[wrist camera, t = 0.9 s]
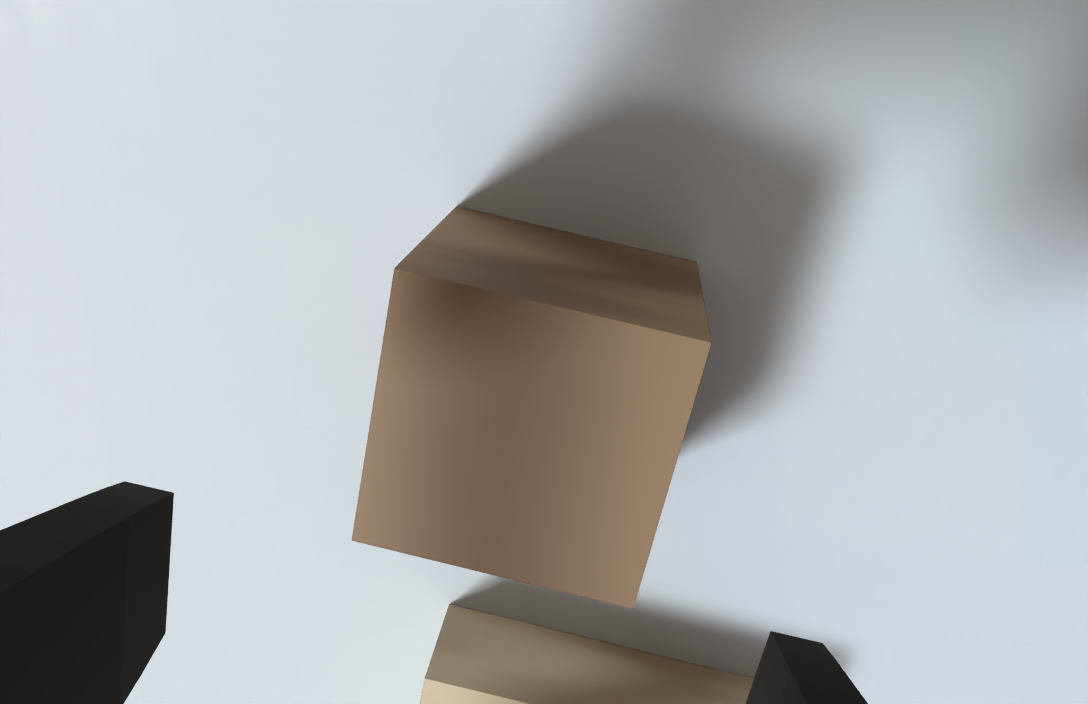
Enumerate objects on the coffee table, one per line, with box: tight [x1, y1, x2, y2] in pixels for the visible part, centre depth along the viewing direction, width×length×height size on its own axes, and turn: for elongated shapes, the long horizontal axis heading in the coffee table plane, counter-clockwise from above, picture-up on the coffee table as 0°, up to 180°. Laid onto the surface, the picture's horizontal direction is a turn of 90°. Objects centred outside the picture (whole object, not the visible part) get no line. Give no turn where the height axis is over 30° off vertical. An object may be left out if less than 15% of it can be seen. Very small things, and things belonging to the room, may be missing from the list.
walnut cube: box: [352, 206, 711, 609], centre depth 17 cm, size 5×5×5 cm
